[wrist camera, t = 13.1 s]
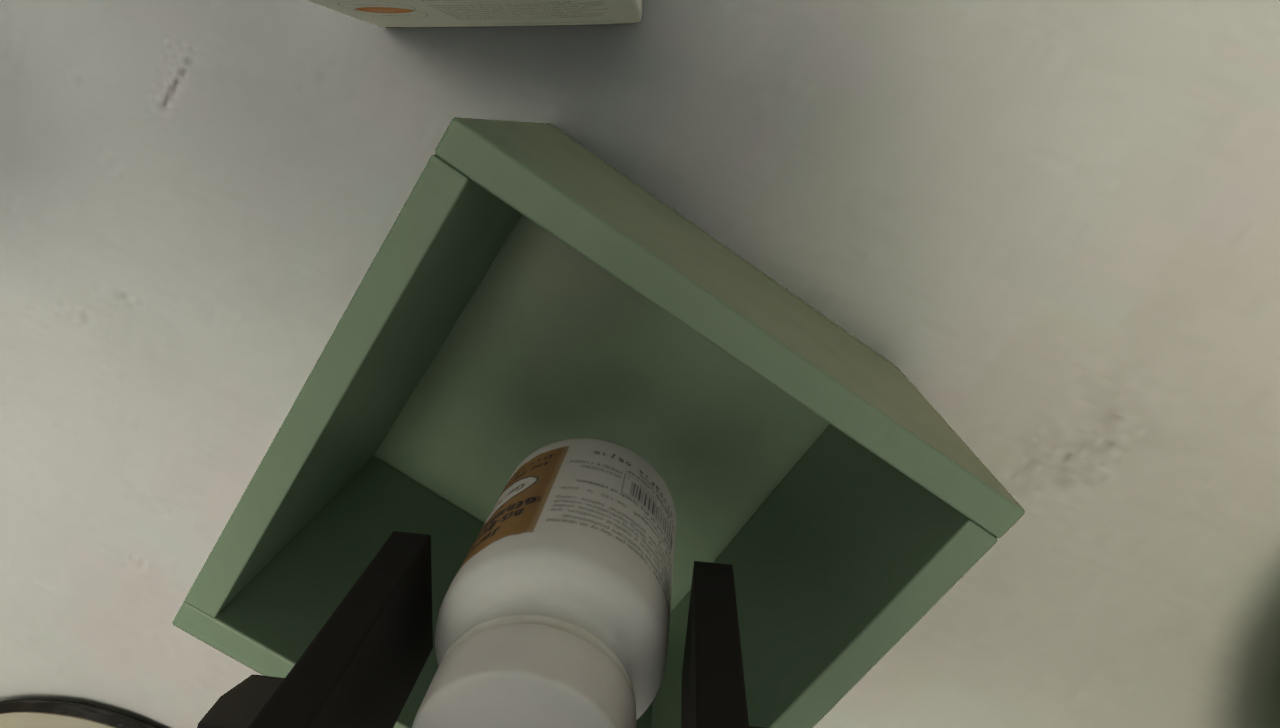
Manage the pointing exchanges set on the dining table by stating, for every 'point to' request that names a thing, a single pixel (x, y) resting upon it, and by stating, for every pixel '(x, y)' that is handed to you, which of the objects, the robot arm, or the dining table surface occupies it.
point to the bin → (603, 428)
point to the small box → (488, 12)
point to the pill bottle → (560, 598)
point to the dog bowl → (61, 716)
